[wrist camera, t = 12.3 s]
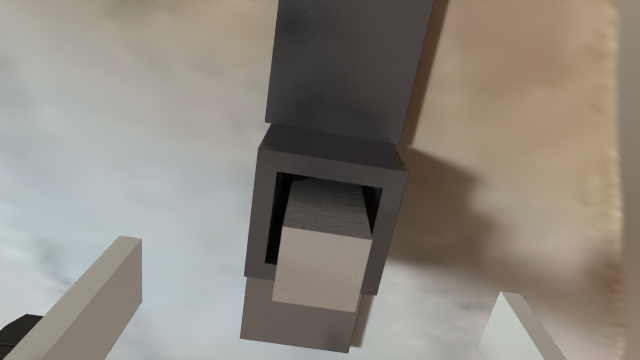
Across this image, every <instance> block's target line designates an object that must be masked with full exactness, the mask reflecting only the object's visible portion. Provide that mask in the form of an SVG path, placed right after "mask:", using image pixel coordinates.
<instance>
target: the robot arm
mask: <svg viewBox="0 0 640 360" xmlns="http://www.w3.org/2000/svg"><path fill="white" fill-rule="evenodd" d="M141 302H142V239H139V238H132V237H125V236H119V237H118V238H117V239H116V240H115V241H114V242H113V243H112V245H111V246H110V247H109V248H108V249H107V250H106V251H105V252H104V253H103V254H102V255H101V256H100V257H99V258H98V259H97V260H96V262H95V263H94V264H93V265H92V266H91V267H90V268H89V269H88V270H87V271H86V272H85V273H84V274H83V275H82V276H81V277H80V279H79V280H78V281H77V282H76V283H75V284H74V285H73V286H72V287H71V288H70V289H69V290H68V291H67V292H66V293H65V294H64V295H63V297H62V298H61V299H60V300H59V301H58V302H57V303H56V304H55V305H54V306H53V307H52V308H51V309H50V310H49V311H48V312H47V314H46V315H45V316H37V315H30V314H25V315H24V316H22V317H20V318H18V319H17V320H15V321H13V322H11V323H10V324H8V325H6V326H5V327H4V328H3V329H2V330H1V331H0V360H105V358H106V357H107V355H108V353H109V352H110V350H111V349H112V347H113V346H114V344H115V343H116V341H117V340H118V338H119V336H120V335H121V333H122V332H123V330H124V329H125V327H126V326H127V324H128V322H129V321H130V319H131V318H132V316H133V315H134V313H135V312H136V310H137V309H138V307H139V305H140V304H141ZM478 350H479V352H480V354H481V356H482V358H483V360H567V359H566V358H565V356H564V355H563V353H562V352H561V351H560V349H559V348H558V346H557V345H556V344H555V342H554V341H553V339H552V338H551V336H550V335H549V334H548V332H547V331H546V329H545V328H544V327H543V325H542V324H541V322H540V321H539V319H538V318H537V317H536V315H535V314H534V312H533V311H532V310H531V308H530V307H529V305H528V304H527V303H526V301H525V300H524V298H523V297H522V295H521V294H517V293H510V292H503V291H500V294H499V296H498V298H497V301H496V303H495V306H494V308H493V311H492V313H491V316H490V318H489V321H488V323H487V326H486V328H485V331H484V333H483V336H482V338H481V341H480V343H479V346H478Z"/></svg>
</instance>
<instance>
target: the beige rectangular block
mask: <svg viewBox="0 0 640 360" xmlns="http://www.w3.org/2000/svg"><path fill="white" fill-rule="evenodd" d="M371 244H372V236H371V231H370V227H369V222H368V217H367V213H366V208H365V203H364V199H363V194H362V189H361V185H360V184H354V183H348V182H341V181H335V180H328V179H322V178H316V177H309V176H303V175H297V174H294V176H293V180H292V185H291V190H290V194H289V199H288V204H287V209H286V213H285V218H284V223H283V228H282V234H281V241H280V248H279V255H278V262H277V269H276V276H275V283H274V290H273V296H272V301H277V302H284V303H291V304H298V305H305V306H312V307H319V308H327V309H334V310H341V311H348V312H355V310H356V306H357V302H358V298H359V294H360V289H361V285H362V281H363V277H364V273H365V269H366V264H367V260H368V256H369V252H370V248H371Z"/></svg>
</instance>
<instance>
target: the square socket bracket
mask: <svg viewBox="0 0 640 360" xmlns="http://www.w3.org/2000/svg"><path fill="white" fill-rule="evenodd" d="M433 2H434V0H279V3H278V12H277V21H276V29H275V38H274V47H273V55H272V64H271V73H270V81H269V90H268V99H267V108H266V116H265V122H266V123H272V124H271V125H270V127H269V129H268V131H267V133H266V135H265V137H264V138H263V140H262V142H261V144H260V146H259V148H258V154H257V163H256V172H255V181H254V190H253V199H252V208H251V217H250V226H249V235H248V244H247V253H246V262H245V271H244V277H247V281H246V290H245V299H244V307H243V316H242V325H241V333H240V339H247V340H254V341H262V342H269V343H276V344H284V345H291V346H298V347H305V348H313V349H320V350H327V351H334V352H342V353H348V352H349V348H350V344H351V339H352V335H353V331H354V327H355V323H356V319H357V315H358V311H359V307H360V302H361V298H362V294H369V295H376V296H377V292H378V288H379V284H380V280H381V277H382V273H383V269H384V265H385V261H386V257H387V253H388V249H389V246H390V242H391V238H392V234H393V230H394V226H395V222H396V219H397V215H398V211H399V207H400V203H401V199H402V195H403V192H404V188H405V184H406V180H407V176H408V170H407V169H406V167H405V165H404V163H403V161H402V160H401V158H400V156H399V154H398V152H397V151H396V149H395V147H394V145H393V143H395V144H399V142H400V138H401V134H402V130H403V126H404V122H405V117H406V113H407V109H408V105H409V101H410V97H411V93H412V89H413V85H414V81H415V76H416V72H417V68H418V64H419V60H420V56H421V52H422V48H423V44H424V39H425V35H426V31H427V27H428V23H429V19H430V15H431V11H432V7H433ZM283 172H284V173H290V174H297V175H303V176H309V177H316V178H322V179H328V180H335V181H341V182H348V183H354V184H360V185H363V188H362V194H363V199H364V203H365V208H366V213H367V217H368V222H369V227H370V231H371V236H372V244H371V248H370V252H369V256H368V260H367V264H366V269H365V273H364V277H363V281H362V285H361V289H360V294H359V298H358V302H357V306H356V310H355V312H348V311H341V310H334V309H327V308H319V307H312V306H305V305H298V304H291V303H284V302H277V301H272V296H273V290H274V283H275V276H276V269H277V262H278V255H279V248H280V241H281V234H282V228H283V223H284V218H285V214H280V213H278V205H279V198H280V191H281V184H282V177H283Z"/></svg>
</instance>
